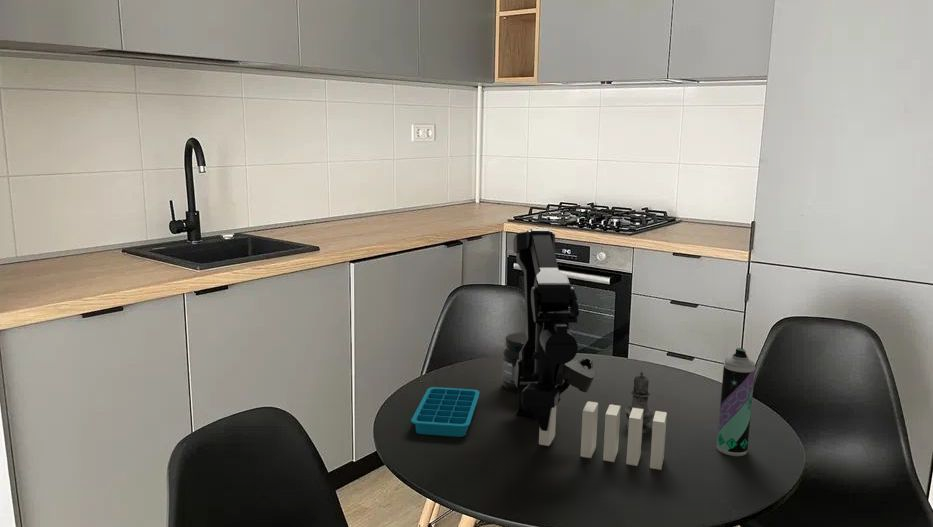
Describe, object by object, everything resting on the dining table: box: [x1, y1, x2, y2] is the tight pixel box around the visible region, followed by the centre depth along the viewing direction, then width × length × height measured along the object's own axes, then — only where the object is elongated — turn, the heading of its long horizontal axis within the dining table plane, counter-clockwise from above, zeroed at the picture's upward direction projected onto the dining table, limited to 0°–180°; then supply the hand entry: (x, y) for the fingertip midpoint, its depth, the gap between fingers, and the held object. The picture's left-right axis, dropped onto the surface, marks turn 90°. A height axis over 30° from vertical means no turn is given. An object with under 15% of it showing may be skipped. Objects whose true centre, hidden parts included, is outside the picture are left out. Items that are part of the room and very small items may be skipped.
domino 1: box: [538, 406, 557, 447], centre depth 137 cm, size 2×5×9 cm, turn 160°
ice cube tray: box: [410, 386, 481, 438], centre depth 151 cm, size 12×20×3 cm, turn 172°
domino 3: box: [602, 403, 622, 463], centre depth 133 cm, size 2×5×9 cm, turn 160°
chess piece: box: [624, 371, 655, 434], centre depth 146 cm, size 6×6×12 cm
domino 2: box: [580, 400, 599, 459], centre depth 135 cm, size 2×5×9 cm, turn 160°
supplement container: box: [501, 331, 526, 394], centre depth 168 cm, size 10×10×12 cm
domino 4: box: [625, 408, 644, 467], centre depth 132 cm, size 2×5×9 cm, turn 160°
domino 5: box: [649, 410, 668, 471], centre depth 131 cm, size 2×5×9 cm, turn 160°
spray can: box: [716, 347, 756, 457], centre depth 136 cm, size 6×6×20 cm
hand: (547, 425), depth 138 cm, fingers closed on domino 1, 5 cm apart
